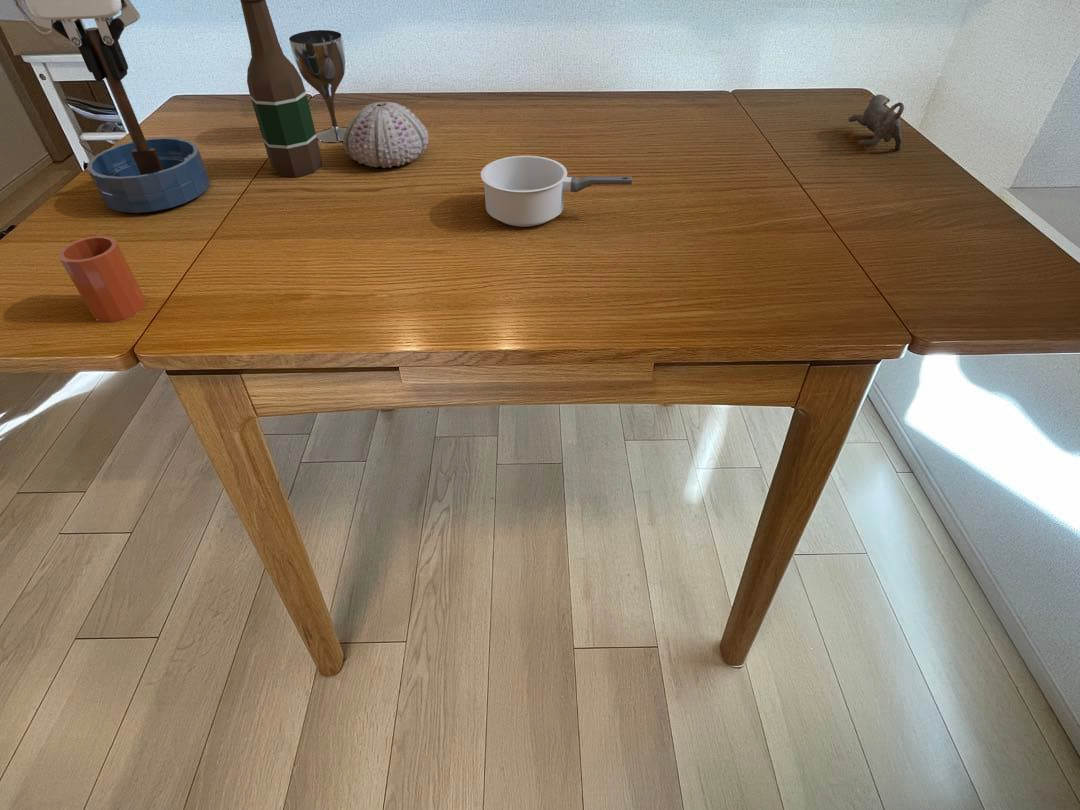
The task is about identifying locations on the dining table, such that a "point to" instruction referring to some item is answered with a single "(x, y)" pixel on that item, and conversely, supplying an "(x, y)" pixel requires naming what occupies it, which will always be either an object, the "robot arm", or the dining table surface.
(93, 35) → the spatula
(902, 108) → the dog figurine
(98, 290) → the utensil pot
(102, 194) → the bowl
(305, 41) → the wine glass
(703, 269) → the dining table surface
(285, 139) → the beer bottle
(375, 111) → the sea urchin shell
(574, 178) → the saucepan
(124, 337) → the dining table surface
